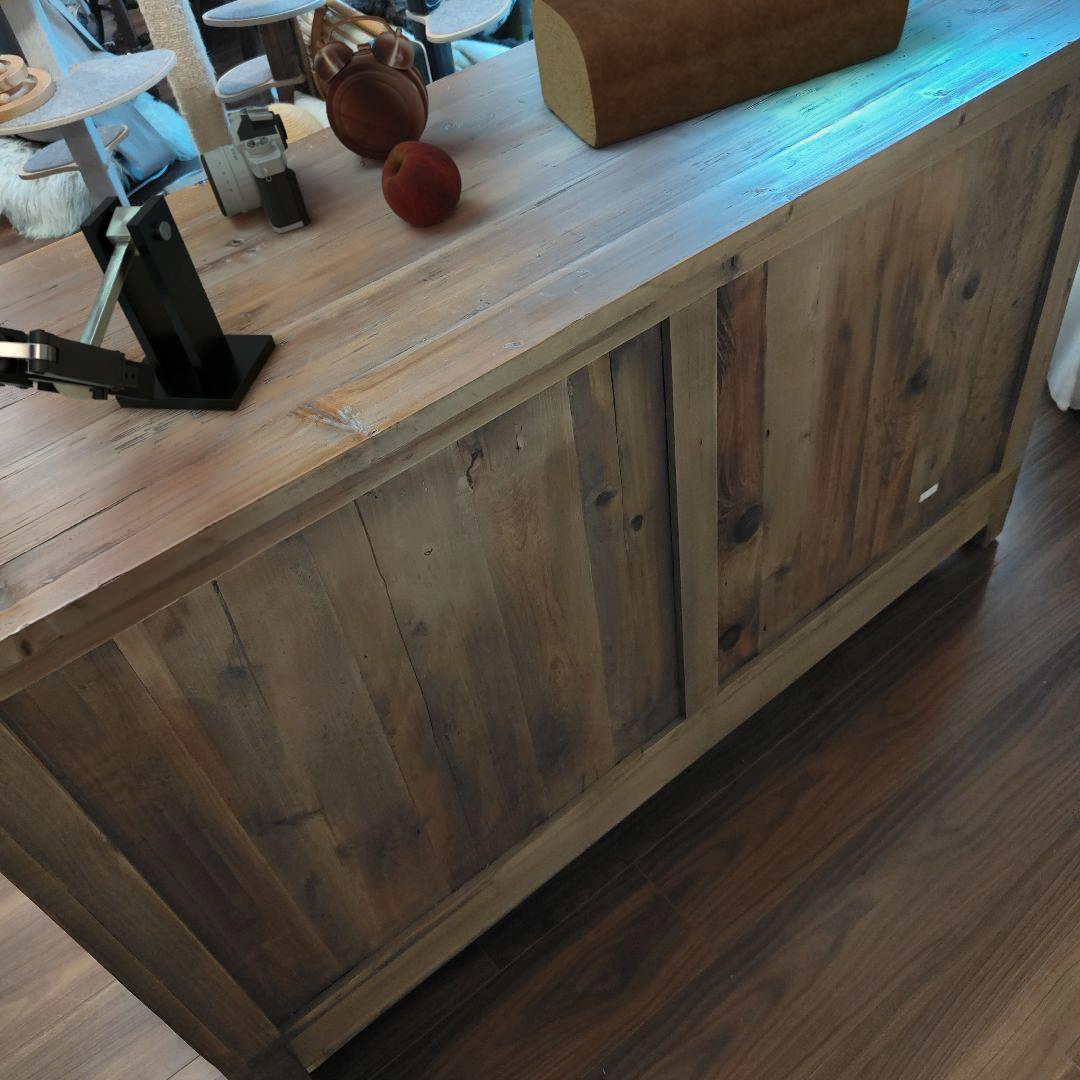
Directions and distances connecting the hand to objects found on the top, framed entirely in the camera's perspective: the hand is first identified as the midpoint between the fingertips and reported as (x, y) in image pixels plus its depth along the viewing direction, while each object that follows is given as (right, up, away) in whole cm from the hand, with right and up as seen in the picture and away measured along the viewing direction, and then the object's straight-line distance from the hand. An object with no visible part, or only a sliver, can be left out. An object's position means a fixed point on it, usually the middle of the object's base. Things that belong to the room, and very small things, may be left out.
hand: (125, 382), depth 78 cm
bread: (+53, +40, +36) cm, 75 cm away
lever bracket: (+3, +2, +10) cm, 10 cm away
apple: (+21, +20, +23) cm, 37 cm away
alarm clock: (+16, +30, +34) cm, 48 cm away
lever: (0, +5, -1) cm, 5 cm away
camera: (+3, +24, +30) cm, 38 cm away
